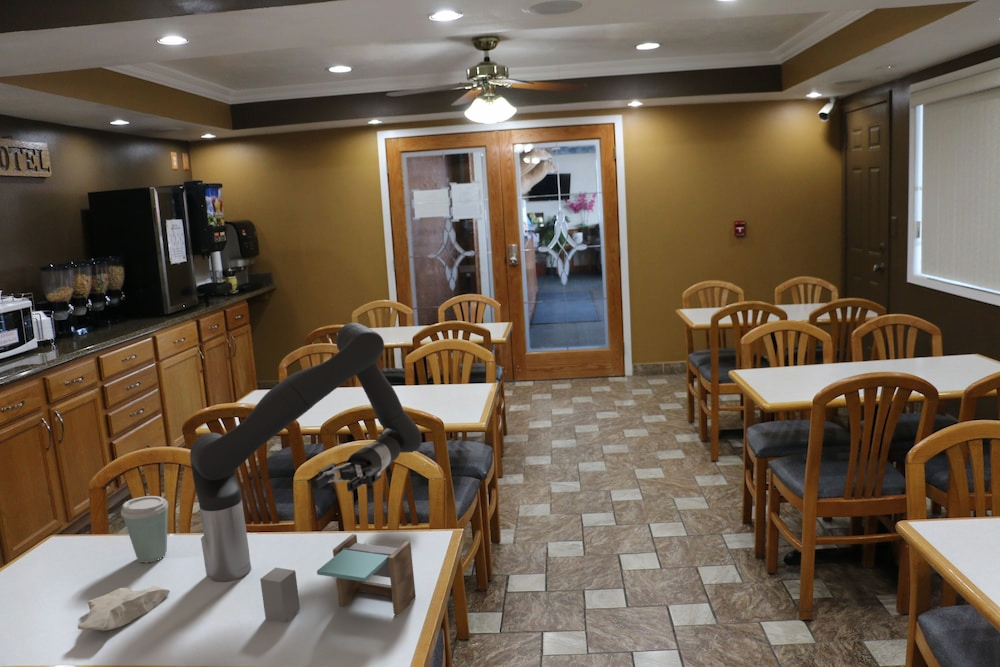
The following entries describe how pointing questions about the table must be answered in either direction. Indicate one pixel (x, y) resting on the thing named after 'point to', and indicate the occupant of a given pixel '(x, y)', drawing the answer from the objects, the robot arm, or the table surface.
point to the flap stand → (399, 588)
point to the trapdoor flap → (358, 563)
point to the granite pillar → (280, 594)
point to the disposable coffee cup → (147, 526)
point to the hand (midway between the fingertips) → (332, 486)
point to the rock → (121, 607)
